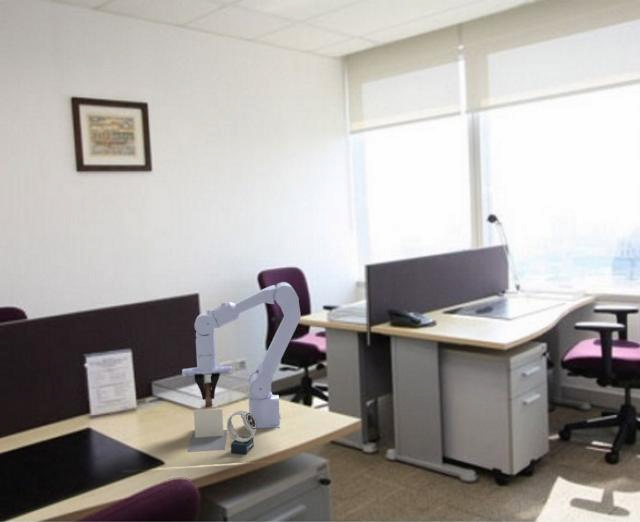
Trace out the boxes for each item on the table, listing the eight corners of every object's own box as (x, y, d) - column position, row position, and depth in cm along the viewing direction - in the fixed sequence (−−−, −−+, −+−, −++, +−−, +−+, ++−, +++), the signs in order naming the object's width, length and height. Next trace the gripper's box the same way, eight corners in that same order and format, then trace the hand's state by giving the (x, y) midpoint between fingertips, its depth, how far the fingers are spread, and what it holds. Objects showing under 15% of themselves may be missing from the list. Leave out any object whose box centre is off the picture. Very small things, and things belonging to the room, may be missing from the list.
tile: (223, 433, 178) (222, 407, 178) (223, 435, 177) (222, 408, 176) (195, 435, 178) (194, 408, 177) (195, 437, 176) (193, 410, 175)
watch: (253, 456, 163) (251, 416, 162) (225, 454, 165) (223, 414, 164) (260, 448, 168) (259, 409, 167) (233, 446, 170) (231, 408, 169)
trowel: (217, 413, 186) (216, 381, 185) (217, 416, 183) (216, 383, 182) (201, 414, 185) (199, 382, 184) (200, 418, 182) (199, 385, 181)
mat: (227, 431, 182) (227, 429, 182) (224, 451, 167) (224, 449, 167) (193, 433, 181) (193, 431, 181) (187, 453, 166) (187, 451, 166)
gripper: (231, 349, 187) (233, 392, 188) (183, 352, 186) (185, 395, 187) (230, 355, 180) (232, 400, 181) (180, 357, 179) (182, 403, 180)
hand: (208, 398), depth 184 cm, fingers closed on trowel, 2 cm apart
